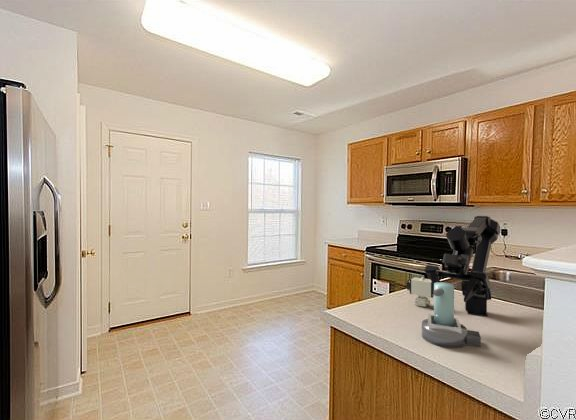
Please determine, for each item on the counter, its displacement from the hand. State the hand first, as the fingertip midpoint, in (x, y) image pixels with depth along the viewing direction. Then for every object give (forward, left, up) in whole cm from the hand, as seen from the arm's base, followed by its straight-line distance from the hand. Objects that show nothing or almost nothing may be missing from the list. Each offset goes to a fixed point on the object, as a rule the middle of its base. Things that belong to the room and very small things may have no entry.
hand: (448, 298), depth 97 cm
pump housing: (+2, +5, -8) cm, 10 cm away
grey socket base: (0, +4, -12) cm, 13 cm away
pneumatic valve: (+8, -27, -12) cm, 31 cm away
